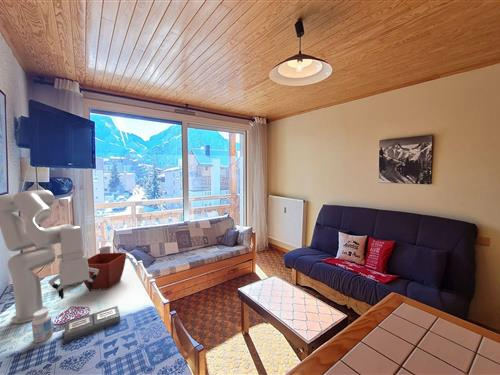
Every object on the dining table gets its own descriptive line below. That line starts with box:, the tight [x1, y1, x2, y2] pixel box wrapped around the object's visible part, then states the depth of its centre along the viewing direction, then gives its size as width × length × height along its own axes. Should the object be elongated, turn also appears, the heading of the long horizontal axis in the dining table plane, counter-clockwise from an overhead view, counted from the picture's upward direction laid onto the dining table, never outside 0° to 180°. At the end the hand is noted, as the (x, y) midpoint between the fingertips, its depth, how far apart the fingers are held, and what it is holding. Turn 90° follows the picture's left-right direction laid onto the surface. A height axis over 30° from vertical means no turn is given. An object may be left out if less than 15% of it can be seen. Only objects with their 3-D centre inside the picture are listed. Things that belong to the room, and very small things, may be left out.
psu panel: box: [63, 305, 122, 343], centre depth 104 cm, size 20×10×3 cm, turn 126°
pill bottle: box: [31, 308, 54, 343], centre depth 97 cm, size 6×6×11 cm
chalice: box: [98, 245, 111, 254], centre depth 159 cm, size 7×7×18 cm
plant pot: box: [82, 252, 127, 291], centre depth 143 cm, size 19×19×17 cm
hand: (76, 293), depth 100 cm, fingers open, 9 cm apart
